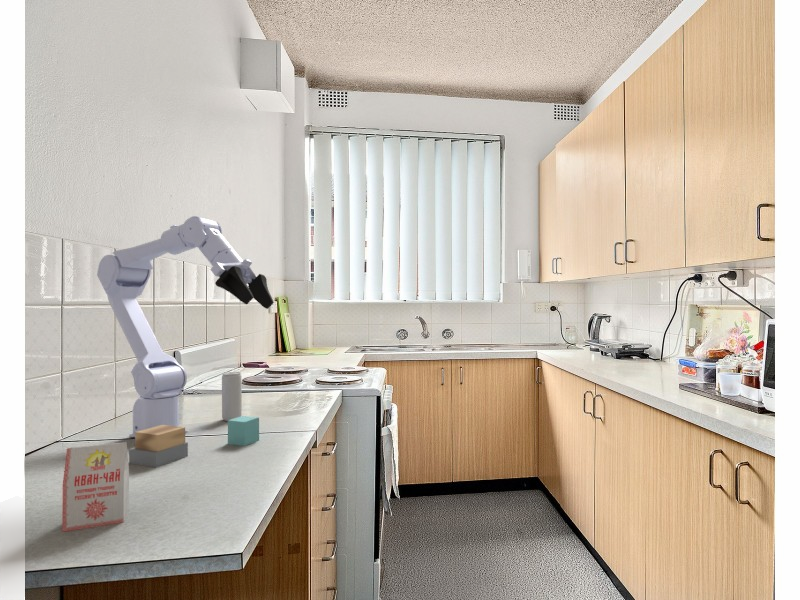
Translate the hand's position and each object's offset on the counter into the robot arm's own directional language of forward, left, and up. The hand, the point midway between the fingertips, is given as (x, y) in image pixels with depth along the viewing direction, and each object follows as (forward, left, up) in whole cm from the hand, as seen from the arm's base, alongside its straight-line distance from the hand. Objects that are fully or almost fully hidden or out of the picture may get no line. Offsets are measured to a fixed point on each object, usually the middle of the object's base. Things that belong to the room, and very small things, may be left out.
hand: (260, 303), depth 95 cm
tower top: (-13, -13, -27) cm, 33 cm away
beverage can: (-24, +18, -30) cm, 42 cm away
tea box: (+2, -35, -30) cm, 46 cm away
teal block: (-6, +2, -30) cm, 30 cm away
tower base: (-13, -13, -30) cm, 35 cm away
